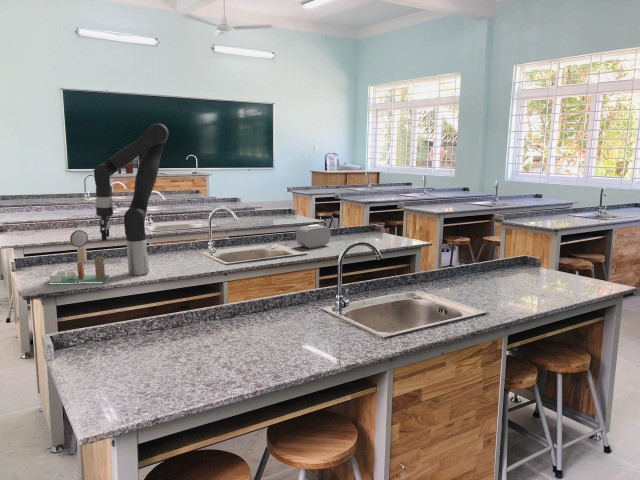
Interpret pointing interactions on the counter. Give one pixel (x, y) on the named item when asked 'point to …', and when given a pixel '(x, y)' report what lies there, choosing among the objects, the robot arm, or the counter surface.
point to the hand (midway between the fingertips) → (105, 238)
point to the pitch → (99, 277)
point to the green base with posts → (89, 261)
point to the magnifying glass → (79, 238)
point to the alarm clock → (313, 236)
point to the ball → (71, 274)
